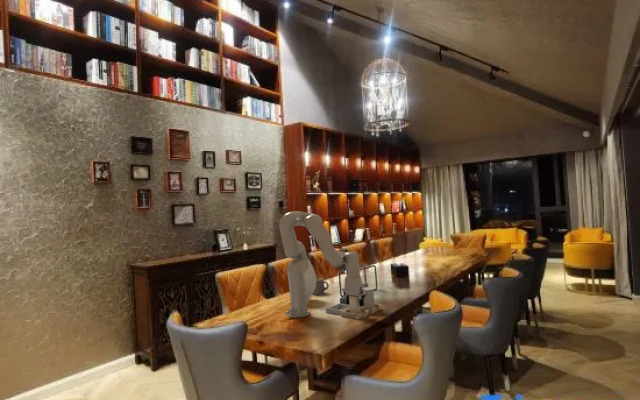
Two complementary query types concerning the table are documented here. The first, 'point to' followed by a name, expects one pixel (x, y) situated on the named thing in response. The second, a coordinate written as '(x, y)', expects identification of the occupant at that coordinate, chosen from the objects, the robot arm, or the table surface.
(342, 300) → the grey square holder
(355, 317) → the wooden frame with crossbar
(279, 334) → the table surface
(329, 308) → the frame
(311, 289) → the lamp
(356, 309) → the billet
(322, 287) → the coffee mug
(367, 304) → the supplement box
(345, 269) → the newton's cradle
